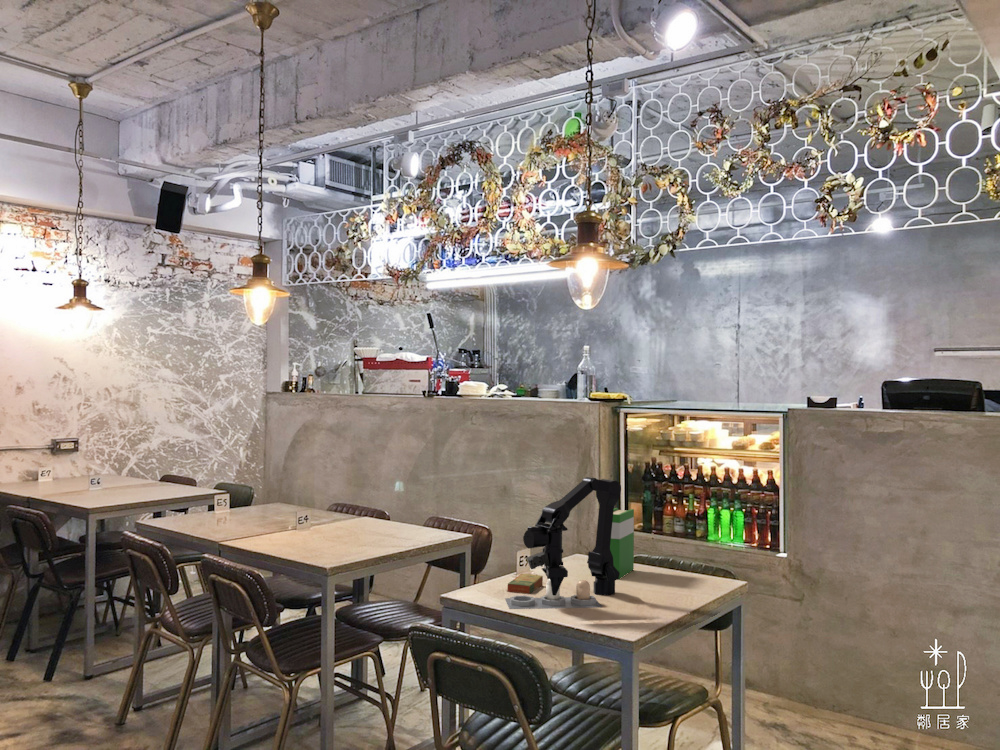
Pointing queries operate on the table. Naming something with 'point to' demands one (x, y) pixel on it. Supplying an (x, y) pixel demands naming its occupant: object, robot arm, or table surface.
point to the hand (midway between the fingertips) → (552, 593)
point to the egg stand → (550, 602)
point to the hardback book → (622, 541)
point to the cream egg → (549, 592)
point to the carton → (525, 583)
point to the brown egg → (583, 590)
